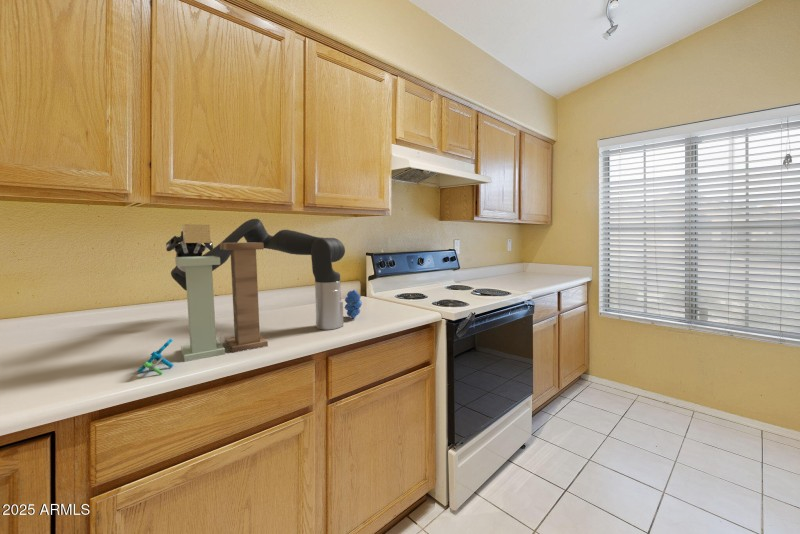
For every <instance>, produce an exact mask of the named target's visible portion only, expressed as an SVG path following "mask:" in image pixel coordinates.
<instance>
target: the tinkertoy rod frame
mask: <svg viewBox="0 0 800 534" xmlns="http://www.w3.org/2000/svg"><path fill="white" fill-rule="evenodd" d="M173 341H174V339H172V338H171V337H170V338H169V339H168V340H166V342H165V343H164V344H162V346H161V347H160V348H159V349H158V350H156V351H153V352H151V353H150V358H148V359H147V361H146V362H145V363H144V364H142V366H141V367H140V368H138V370H137V372H138V373H140V374H141V373H142V372H143V371H144V370H145V369H148V371H150V372H151V371H154V372H156V373H157V374H159V375H160V376H162V375H163V374H164V372H163V371H162V370H160V369H159V368H158V367H156V366H157V365H158V364H160V362H161V363H162V364H164V365H165V366H167V367H169V368H170V369H172V368H173V367H174V366H175V365H174V364H173V363H172V362H170V361H169V360H168V359H166V358H165V356H164V355H163V354H162V352H163V351H165V349H167V348H168V346H169V345H170V344H171V343H172V342H173ZM153 361H157V362H156V363H153Z"/></svg>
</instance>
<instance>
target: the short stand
mask: <svg viewBox="0 0 800 534" xmlns="http://www.w3.org/2000/svg"><path fill="white" fill-rule="evenodd" d="M174 258H175V266H176V265H177V266H179V267H180V266H185V271H186V287H187V291H186V298H187V302H186V303H187V315H188V316H187V317H188V318H187V319H188V333H189V343H187V344H181V345H180V350H181V351H180V352H181V354H182V358H183V357H184V358H183V360H184V362H189V361H188V360H190V361H193V360H194V359H195V360H200V359H199V358H201V359H206V358H211V357H210V356H212V357H215V356H216V355H217V356H221V354H222V355H226V348H225V347H224V345H223V344H222V343H221V341H220V340H219V339H218V338H217V333H216V332H217V331H216V315H215V299H214V297H215V296H214V278H213V271H212V265H220V257H216V256H197V257H176V256H175V257H174ZM205 357H206V358H205ZM195 360H194V361H195Z"/></svg>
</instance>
